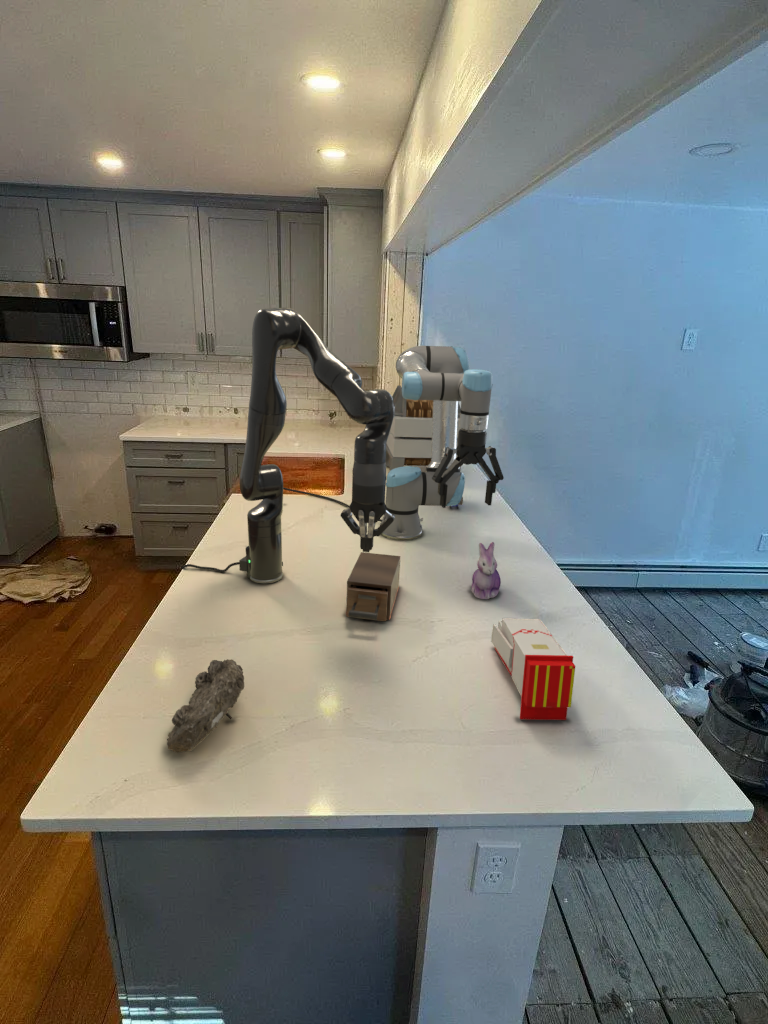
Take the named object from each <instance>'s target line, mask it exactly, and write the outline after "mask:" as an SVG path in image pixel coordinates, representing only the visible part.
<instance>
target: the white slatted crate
mask: <svg viewBox="0 0 768 1024" xmlns="http://www.w3.org/2000/svg"><path fill="white" fill-rule="evenodd" d="M391 396H392V398H393V401H394V407H395V412H394V418H393V422H392V426H391V429H390V433H389V436H388V439H387V442H386V468H387V467H388V468H389V471H391V470H392V469H395V468H398V467H404V466H413V467H427V466H428V465H429V464H430V463H431V448H432V418H433V400H410V399H404V398H403V396H402V385H399V384H398V385H397V386H396V388H395V390H394V392H393V394H392V395H391ZM460 411H461V404H460V401H458V418H457V445H456V448H457V446H458V432H459V430H460V429H461V428H460V427H459V420H460ZM456 457H457V454H456ZM460 472H462V466H461V467H460Z"/></svg>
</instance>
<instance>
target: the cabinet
mask: <svg viewBox="0 0 768 1024" xmlns="http://www.w3.org/2000/svg"><path fill="white" fill-rule="evenodd" d="M400 572H401V555H393V554H382V553H375V552H363V551H362V552H360V554H359V555H358V558H357V560H356V562H355V563H354V566H353V567H352V570H351V572H350V574H349V576H348V579H347V581H346V590H347V589H348V587H350V588H353V585H357V586H366V587H375V588H384V589H387V592H388V601H387V619H386V621H390V620H391V616H392V613H393V610H394V606H395V602H396V599H397V596H398V592H399V589H400ZM345 615H346V616H347V608H346V613H345Z"/></svg>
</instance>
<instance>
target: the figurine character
mask: <svg viewBox="0 0 768 1024" xmlns="http://www.w3.org/2000/svg"><path fill="white" fill-rule="evenodd" d="M463 503H464V497H463V496H462V499H461V501H460V502H459V504H457V505H455V506H454V507H455V508H456V509H457V510H458V509H459V506H463ZM448 507H449V509H450V510H451V509H452V506H448Z"/></svg>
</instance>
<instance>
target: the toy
mask: <svg viewBox="0 0 768 1024" xmlns="http://www.w3.org/2000/svg"><path fill="white" fill-rule="evenodd" d="M490 638H491V639H490V642H491V644H492V646H493V647H494V650H495V652H496V654H497V655H498V657H499V659H500V660H501V662H502V664H503V666H504V667H505V669H506V671H507V672H508V674H509V676H510V677H511V679H512V681H513V683H514V685H515V688H516V690H517V691H518V693H519V695H520V697H521V698H520V710H519V719H520V720H534V721H535V720H539V721H567V716H568V708H572V701H573V692H574V684H575V674H576V673H575V672H576V665H575V663H574V656H573V655H568V654H567V653H566V652H565V650H564V649H563V648H562V646H561V645H560V644H559V643H558V641H557V640H556V639H555V637H554V636H553V634H552V633H551V632H550V631H549V629H548V628H547V626H546V624H545V623H543V621H542V620H541V619H540V618H505V617H503V618H501V620H498V622H497V624H495V623H493V624H492V632H491V637H490Z"/></svg>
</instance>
